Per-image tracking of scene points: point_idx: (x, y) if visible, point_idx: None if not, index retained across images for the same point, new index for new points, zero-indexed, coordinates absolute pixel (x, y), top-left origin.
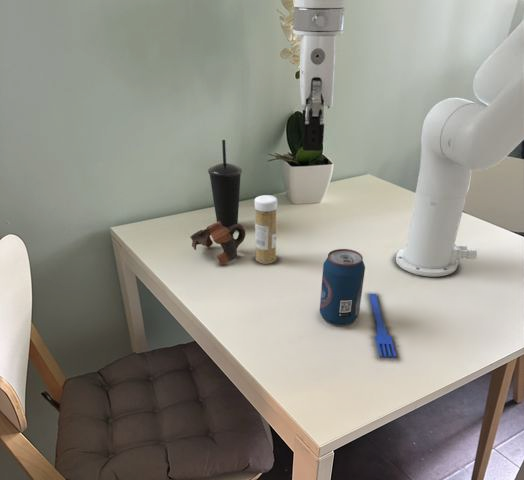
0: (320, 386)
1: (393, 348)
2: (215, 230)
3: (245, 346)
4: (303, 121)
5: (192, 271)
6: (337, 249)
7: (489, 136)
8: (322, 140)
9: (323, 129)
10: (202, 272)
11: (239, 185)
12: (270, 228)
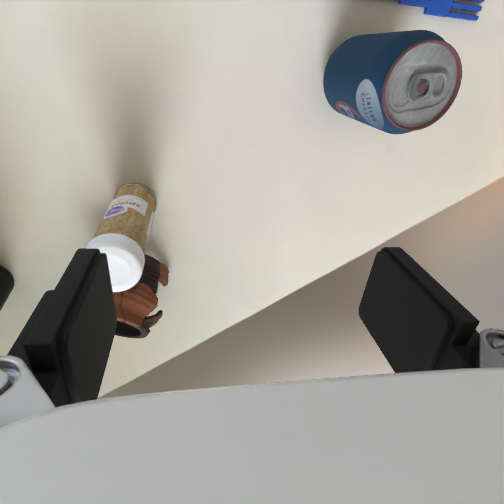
0: (493, 130)
1: None
2: (135, 313)
3: (389, 221)
4: (103, 373)
5: (191, 304)
6: (384, 102)
7: None
8: (422, 270)
9: (455, 303)
10: (194, 292)
11: None
12: (144, 226)
